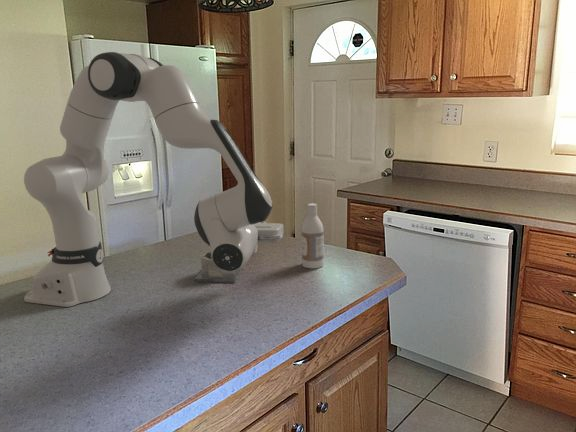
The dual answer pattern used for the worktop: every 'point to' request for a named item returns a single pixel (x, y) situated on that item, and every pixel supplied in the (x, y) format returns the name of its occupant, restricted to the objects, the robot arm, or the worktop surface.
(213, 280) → the octagonal cup holder
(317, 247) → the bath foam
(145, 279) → the worktop surface
